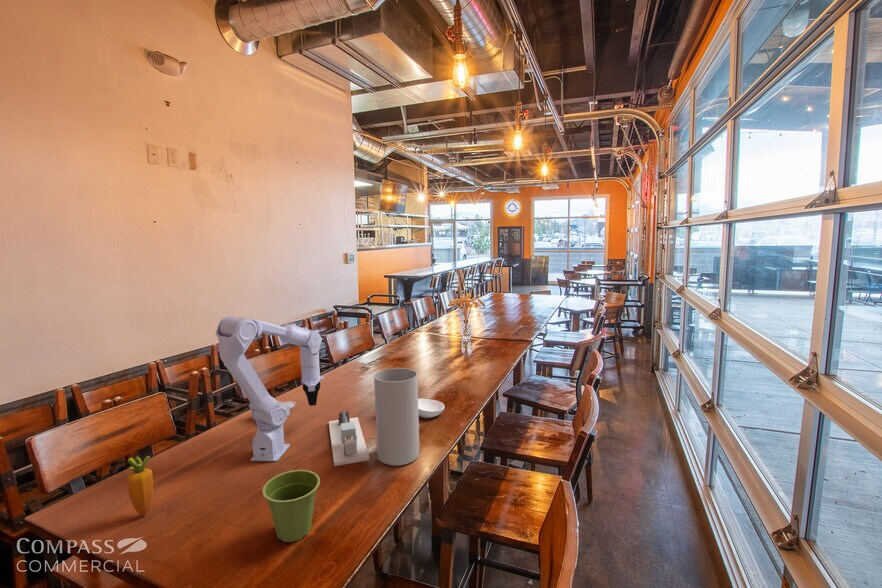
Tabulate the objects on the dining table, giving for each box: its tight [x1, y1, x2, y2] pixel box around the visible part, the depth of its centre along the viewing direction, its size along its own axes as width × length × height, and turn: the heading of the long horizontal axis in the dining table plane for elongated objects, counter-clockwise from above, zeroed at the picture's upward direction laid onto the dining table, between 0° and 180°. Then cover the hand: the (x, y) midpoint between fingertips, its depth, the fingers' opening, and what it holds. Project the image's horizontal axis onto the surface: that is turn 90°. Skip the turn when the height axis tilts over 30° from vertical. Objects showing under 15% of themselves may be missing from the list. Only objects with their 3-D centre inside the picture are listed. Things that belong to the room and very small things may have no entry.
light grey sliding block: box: [340, 422, 357, 444], centre depth 127 cm, size 5×4×4 cm
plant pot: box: [262, 469, 321, 543], centre depth 92 cm, size 12×12×11 cm
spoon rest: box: [418, 397, 445, 419], centre depth 152 cm, size 24×12×7 cm, turn 96°
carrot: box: [126, 455, 154, 517], centre depth 97 cm, size 5×5×15 cm
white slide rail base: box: [328, 410, 370, 467], centre depth 134 cm, size 29×10×6 cm, turn 18°
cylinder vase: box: [373, 367, 420, 467], centre depth 122 cm, size 12×12×25 cm
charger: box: [252, 400, 297, 422], centre depth 154 cm, size 5×9×15 cm
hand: (312, 404), depth 139 cm, fingers closed
